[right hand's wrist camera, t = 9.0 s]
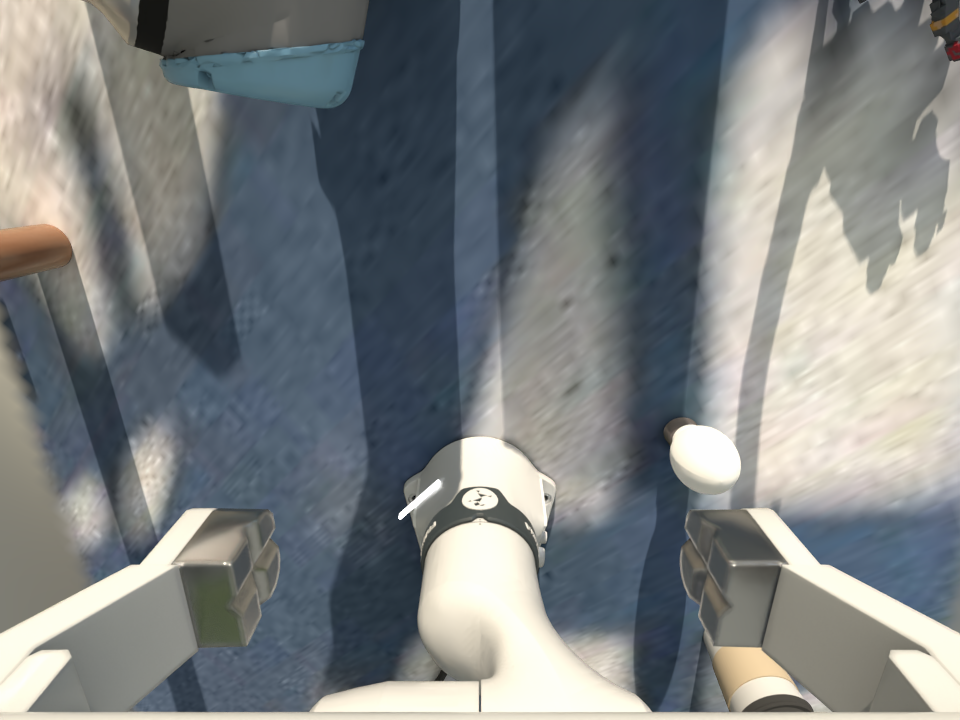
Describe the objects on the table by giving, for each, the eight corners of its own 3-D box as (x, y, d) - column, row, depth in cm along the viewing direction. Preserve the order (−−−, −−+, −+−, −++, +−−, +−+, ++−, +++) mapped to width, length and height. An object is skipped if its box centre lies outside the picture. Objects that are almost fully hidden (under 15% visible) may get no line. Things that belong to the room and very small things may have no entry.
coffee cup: (685, 624, 74) (734, 733, 59) (747, 599, 72) (812, 704, 58) (710, 666, 76) (762, 779, 62) (770, 642, 75) (837, 753, 61)
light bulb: (648, 452, 64) (680, 507, 54) (659, 402, 62) (695, 449, 52) (703, 457, 64) (745, 512, 54) (716, 406, 62) (763, 455, 52)
